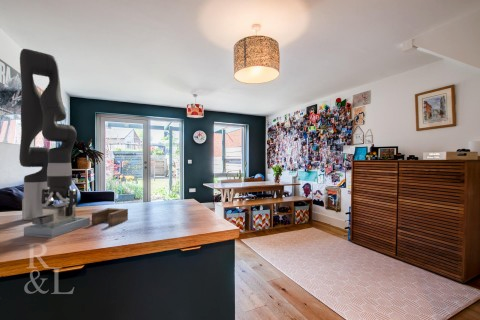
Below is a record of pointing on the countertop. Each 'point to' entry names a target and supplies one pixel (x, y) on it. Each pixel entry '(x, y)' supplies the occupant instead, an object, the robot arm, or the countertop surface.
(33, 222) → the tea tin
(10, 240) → the countertop surface
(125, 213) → the cubby
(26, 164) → the robot arm
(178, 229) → the countertop surface
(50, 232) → the tray
